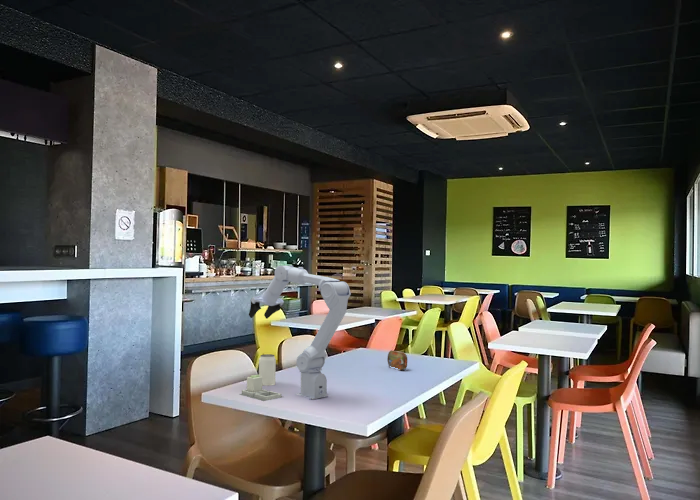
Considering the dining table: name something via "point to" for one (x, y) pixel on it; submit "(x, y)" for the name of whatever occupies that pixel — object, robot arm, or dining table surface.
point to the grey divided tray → (262, 395)
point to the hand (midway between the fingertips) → (258, 316)
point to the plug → (254, 383)
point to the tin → (397, 359)
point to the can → (267, 369)
